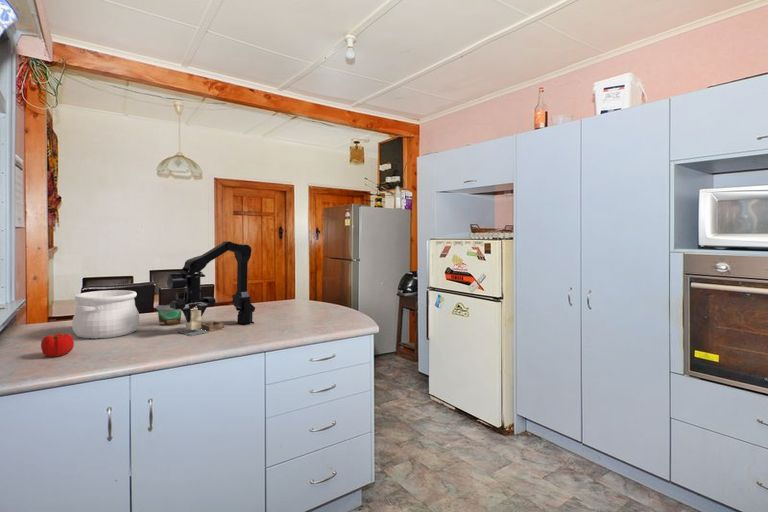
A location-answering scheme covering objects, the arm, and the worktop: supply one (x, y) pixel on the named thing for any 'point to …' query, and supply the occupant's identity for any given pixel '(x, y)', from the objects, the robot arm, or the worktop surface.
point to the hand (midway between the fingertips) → (193, 321)
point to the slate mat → (193, 331)
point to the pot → (105, 314)
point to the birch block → (194, 320)
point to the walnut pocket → (212, 326)
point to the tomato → (57, 344)
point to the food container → (168, 315)
